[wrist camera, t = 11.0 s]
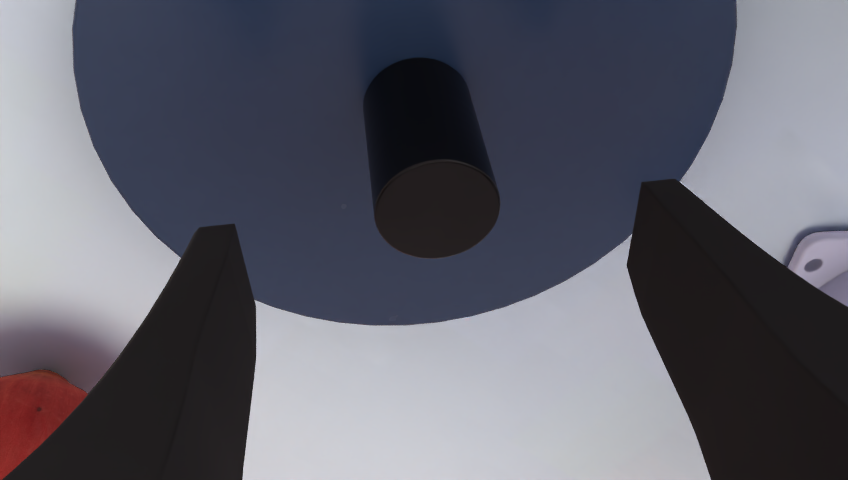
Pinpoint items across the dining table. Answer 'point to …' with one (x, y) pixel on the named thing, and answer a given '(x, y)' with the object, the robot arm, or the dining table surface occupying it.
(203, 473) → the robot arm
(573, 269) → the lid
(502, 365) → the dining table surface
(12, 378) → the onion
